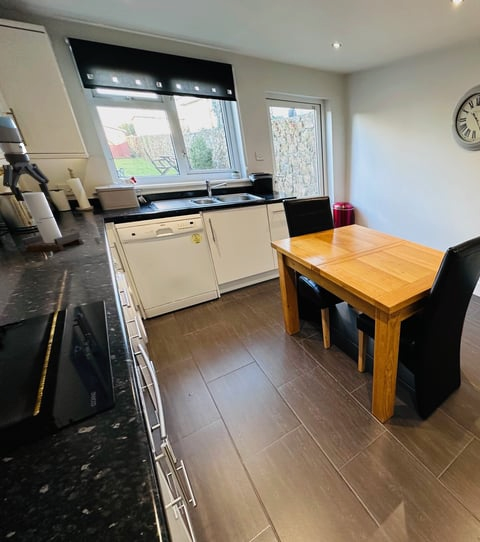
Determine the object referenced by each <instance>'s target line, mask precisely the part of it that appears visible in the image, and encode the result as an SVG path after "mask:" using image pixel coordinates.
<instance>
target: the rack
mask: <svg viewBox="0 0 480 542" xmlns="http://www.w3.org/2000/svg"><path fill="white" fill-rule="evenodd" d="M21 241H22V243H23V245H24V246H25V249H26V251H27V253H28V252H65V251H66V249H65V247H64V246H81V245H84V242H83V239H82V238H81V234H80V232H79V231H75V232H71V233H68V234H66V235H62V237H59V238H56V239H54V241H55V242H53V243H45V242H44V240H43V238H42V236H41V234H40V233H39V234H36V235H32V236H30V237H26V238H21Z"/></svg>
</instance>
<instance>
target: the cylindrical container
mask: <svg viewBox="0 0 480 542" xmlns="http://www.w3.org/2000/svg"><path fill="white" fill-rule="evenodd" d="M22 196H23V198H24V200H25V201H24V202H25V203H26V205H27V207H28V209H29V212H30V214H31V216H32V218H33V221H34V223H35V225H36V227H37V229H38V231H39V234H41V236H42V238H43V240H44V242H45V243H53V242H55V241H54V239H56V238H59V237H62V236H63V235H62V232H61V231H60V229H59V226H58V224H57V221H56V219H55V217H54V215H53V212H52V210H51V208H50V205H49V202H48V200H47V197H45V195H44V193H43V192H42V191H35V192H34V191H33V192H24V193H22Z"/></svg>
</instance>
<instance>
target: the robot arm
mask: <svg viewBox="0 0 480 542" xmlns="http://www.w3.org/2000/svg"><path fill="white" fill-rule="evenodd" d="M0 150H1V153H3V156H4V159H5V161H6V163H8V164H2V165H1V166H2V169H3V176H2V186H3V187H6V188H9V189H10V191H11V193H12V195H13V196H14V198H15V200H16V202H26V201H25V199H24V196H23V193H22V191H21V189H20V187H19V186H18V184H19V180H20V177H21V176H22V175H28V176H30V177H31V178H33V180H35V181H36V182H38V187H39V189H40V192H43V193H44V195H45V198H51V194H50V192H49V187H48V184H49V183H50V179H49V178H48V177H47V176H46V175H45V174H44V172H43V171H42V169H40V168H39V166H38V165H37V163H31V159H30V157H29V155H28V154H27V150H26V147H25V145H24V144H23V141H22V138H21V136H20V133H19V130H18V127H17V126H16V124H15V122H14V120H13V119H12V118H11V117H10V116H9V117H8V116H0Z"/></svg>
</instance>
